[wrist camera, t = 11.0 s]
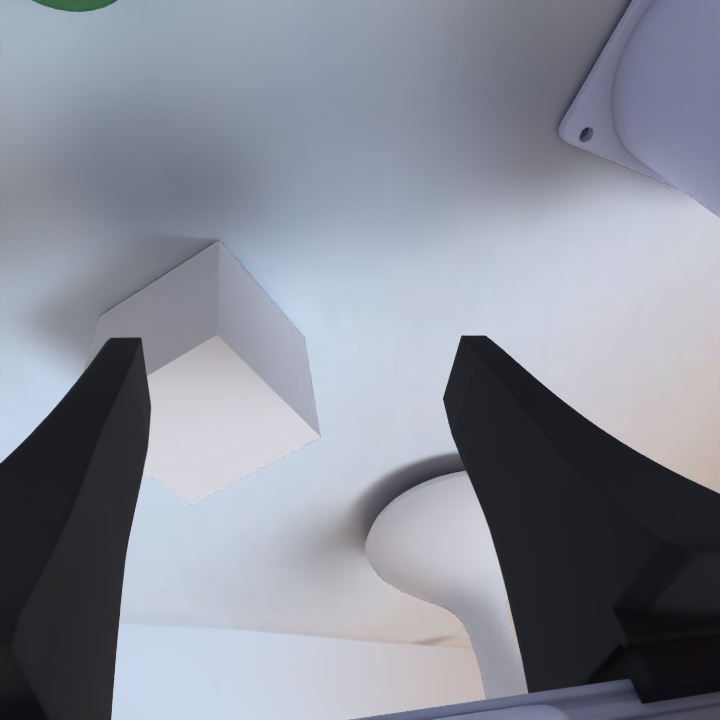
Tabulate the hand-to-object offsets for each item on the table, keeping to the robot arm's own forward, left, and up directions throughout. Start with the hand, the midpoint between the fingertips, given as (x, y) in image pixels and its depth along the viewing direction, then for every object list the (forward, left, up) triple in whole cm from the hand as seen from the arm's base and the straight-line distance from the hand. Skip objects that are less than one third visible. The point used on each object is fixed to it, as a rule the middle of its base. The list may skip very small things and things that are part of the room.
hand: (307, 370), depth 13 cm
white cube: (+1, +7, -11) cm, 13 cm away
